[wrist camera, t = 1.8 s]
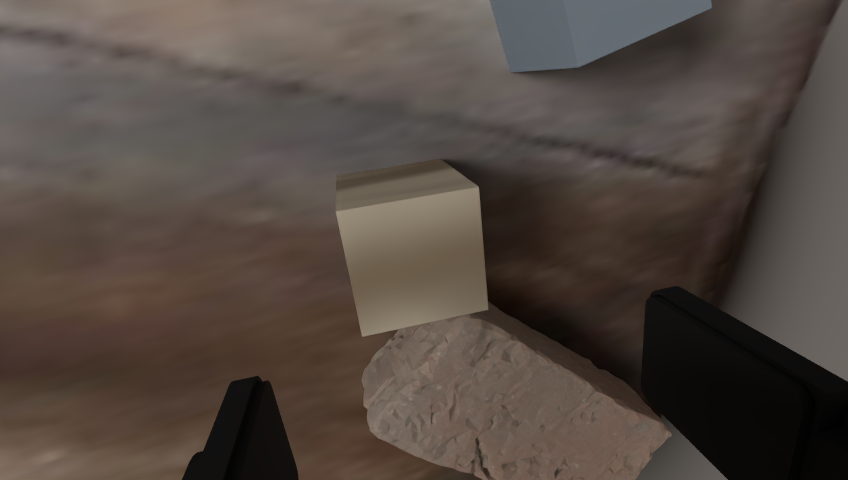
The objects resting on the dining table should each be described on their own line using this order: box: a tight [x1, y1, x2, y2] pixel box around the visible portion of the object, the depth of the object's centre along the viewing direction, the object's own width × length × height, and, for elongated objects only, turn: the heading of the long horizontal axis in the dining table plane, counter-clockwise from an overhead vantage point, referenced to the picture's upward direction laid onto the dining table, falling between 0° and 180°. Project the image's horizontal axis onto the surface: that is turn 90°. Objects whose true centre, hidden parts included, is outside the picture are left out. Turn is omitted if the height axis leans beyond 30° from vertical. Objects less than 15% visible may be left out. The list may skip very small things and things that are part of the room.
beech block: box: [336, 159, 488, 337], centre depth 18 cm, size 5×5×6 cm
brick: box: [362, 301, 672, 480], centre depth 24 cm, size 16×8×5 cm, turn 54°
